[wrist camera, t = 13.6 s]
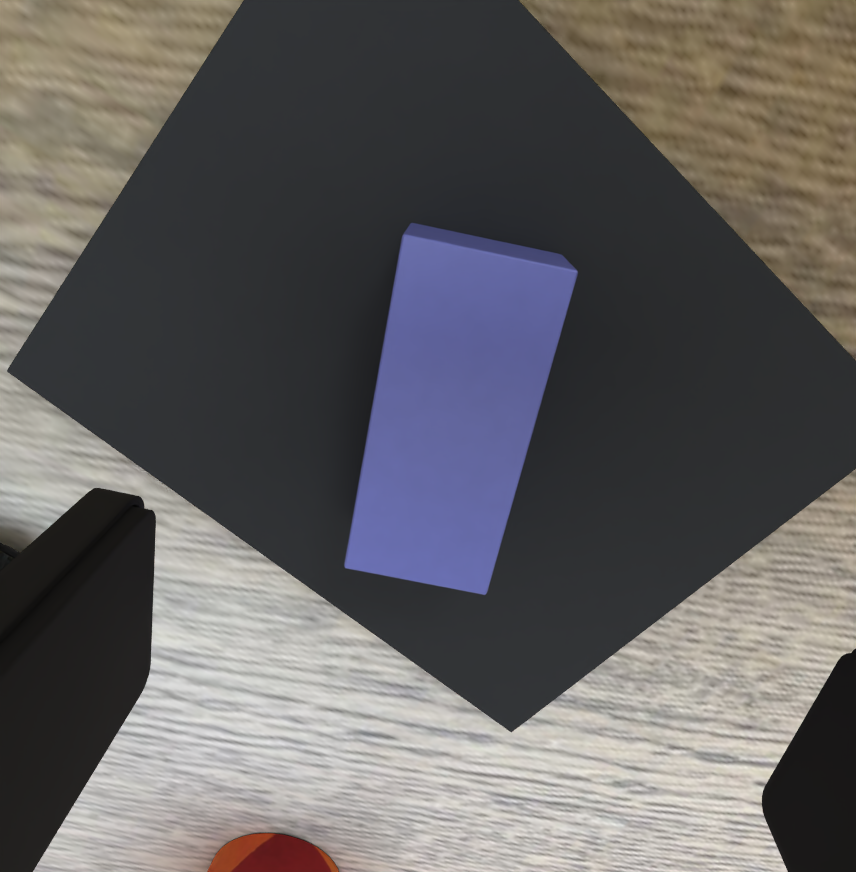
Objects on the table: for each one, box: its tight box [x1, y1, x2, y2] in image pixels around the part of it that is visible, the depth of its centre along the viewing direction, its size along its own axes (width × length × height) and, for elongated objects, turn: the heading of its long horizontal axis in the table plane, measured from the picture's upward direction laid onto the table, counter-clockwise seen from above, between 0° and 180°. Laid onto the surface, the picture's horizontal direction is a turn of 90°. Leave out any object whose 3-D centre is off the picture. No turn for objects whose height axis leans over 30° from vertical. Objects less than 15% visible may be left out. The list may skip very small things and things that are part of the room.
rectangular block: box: [344, 223, 578, 595], centre depth 18 cm, size 9×4×2 cm, turn 169°
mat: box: [7, 0, 856, 732], centre depth 19 cm, size 16×20×1 cm
